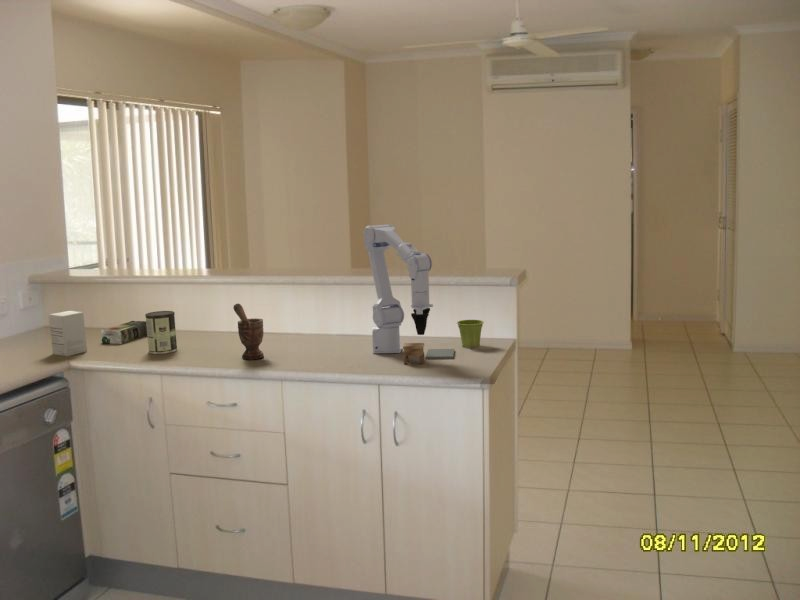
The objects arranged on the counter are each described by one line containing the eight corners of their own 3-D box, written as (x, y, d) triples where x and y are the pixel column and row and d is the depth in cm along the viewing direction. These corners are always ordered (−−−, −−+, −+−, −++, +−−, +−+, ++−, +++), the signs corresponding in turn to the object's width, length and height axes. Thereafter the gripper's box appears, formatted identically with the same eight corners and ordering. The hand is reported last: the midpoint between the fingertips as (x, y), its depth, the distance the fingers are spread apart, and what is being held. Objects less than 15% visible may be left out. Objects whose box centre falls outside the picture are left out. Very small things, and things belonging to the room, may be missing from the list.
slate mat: (425, 359, 295) (425, 356, 295) (428, 351, 307) (428, 349, 307) (453, 358, 294) (452, 356, 294) (454, 351, 306) (454, 348, 306)
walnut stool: (403, 364, 288) (403, 346, 288) (405, 361, 293) (404, 343, 292) (423, 364, 288) (422, 346, 287) (424, 360, 293) (423, 342, 292)
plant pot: (482, 349, 308) (482, 324, 307) (455, 348, 310) (455, 324, 308) (485, 343, 317) (485, 319, 316) (459, 343, 319) (458, 319, 317)
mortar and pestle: (258, 362, 299) (254, 304, 296) (233, 362, 300) (229, 304, 297) (268, 355, 310) (264, 298, 307) (244, 355, 312) (240, 299, 309)
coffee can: (167, 347, 331) (164, 309, 329) (182, 350, 324) (180, 312, 322) (142, 351, 324) (139, 313, 321) (158, 355, 317) (155, 316, 314)
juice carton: (120, 345, 339) (119, 329, 338) (99, 344, 342) (98, 328, 341) (152, 335, 357) (150, 320, 357) (131, 335, 361) (130, 320, 360)
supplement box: (73, 349, 333) (69, 310, 330) (87, 351, 328) (84, 311, 325) (51, 354, 325) (47, 314, 323) (66, 356, 320) (62, 315, 318)
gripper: (431, 294, 282) (432, 336, 284) (433, 288, 296) (434, 328, 298) (409, 295, 282) (410, 336, 284) (412, 288, 297) (413, 328, 299)
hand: (421, 332), depth 291 cm, fingers open, 7 cm apart
